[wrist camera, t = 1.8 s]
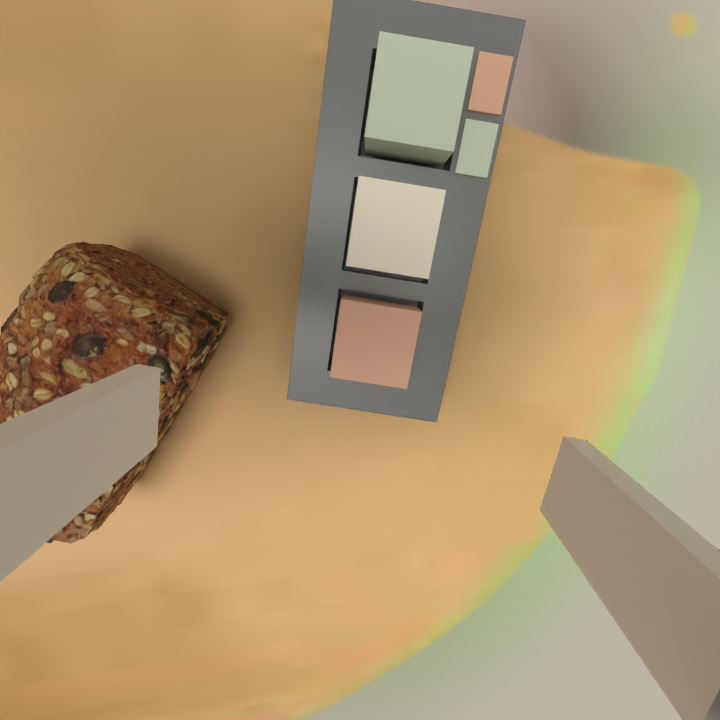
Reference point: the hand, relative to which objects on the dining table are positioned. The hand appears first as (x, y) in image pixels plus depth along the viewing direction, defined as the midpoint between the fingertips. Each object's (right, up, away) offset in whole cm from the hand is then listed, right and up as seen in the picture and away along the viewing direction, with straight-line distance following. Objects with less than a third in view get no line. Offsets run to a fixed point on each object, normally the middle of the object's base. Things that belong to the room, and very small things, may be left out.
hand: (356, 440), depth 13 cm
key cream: (+2, +11, +14) cm, 18 cm away
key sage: (+3, +18, +12) cm, 22 cm away
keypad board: (+2, +12, +17) cm, 21 cm away
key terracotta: (+1, +4, +15) cm, 16 cm away
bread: (-19, +2, +20) cm, 27 cm away
